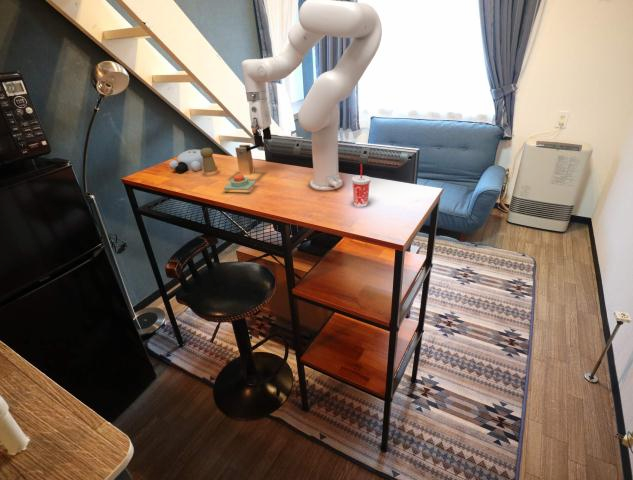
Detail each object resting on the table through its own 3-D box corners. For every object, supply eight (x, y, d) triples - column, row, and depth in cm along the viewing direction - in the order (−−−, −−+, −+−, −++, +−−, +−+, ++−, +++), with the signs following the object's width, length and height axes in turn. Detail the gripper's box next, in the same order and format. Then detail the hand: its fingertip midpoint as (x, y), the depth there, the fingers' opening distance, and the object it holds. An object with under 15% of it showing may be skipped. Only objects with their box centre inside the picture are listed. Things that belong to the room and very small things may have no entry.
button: (245, 179, 133) (244, 174, 132) (241, 182, 130) (241, 178, 129) (236, 178, 133) (236, 174, 133) (233, 182, 130) (232, 177, 130)
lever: (269, 144, 139) (266, 138, 138) (265, 147, 135) (262, 142, 134) (244, 152, 143) (241, 147, 142) (239, 156, 139) (236, 150, 138)
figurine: (190, 160, 168) (165, 179, 153) (184, 143, 163) (158, 161, 148) (221, 162, 164) (198, 181, 149) (216, 144, 159) (192, 163, 143)
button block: (256, 185, 136) (255, 176, 134) (249, 193, 129) (247, 183, 127) (233, 185, 138) (231, 175, 136) (224, 193, 131) (222, 183, 129)
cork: (220, 170, 154) (215, 146, 148) (215, 175, 149) (209, 150, 143) (207, 171, 155) (201, 146, 149) (202, 175, 150) (196, 150, 144)
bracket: (264, 173, 148) (260, 143, 142) (257, 180, 141) (252, 149, 134) (238, 172, 151) (233, 143, 144) (230, 179, 143) (224, 149, 137)
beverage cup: (348, 202, 117) (348, 162, 110) (364, 198, 119) (364, 159, 112) (357, 209, 113) (357, 168, 105) (373, 205, 115) (374, 164, 107)
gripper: (258, 99, 120) (265, 148, 128) (273, 92, 134) (279, 136, 143) (238, 100, 121) (246, 148, 130) (255, 93, 136) (262, 137, 145)
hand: (263, 142), depth 136 cm, fingers open, 9 cm apart
